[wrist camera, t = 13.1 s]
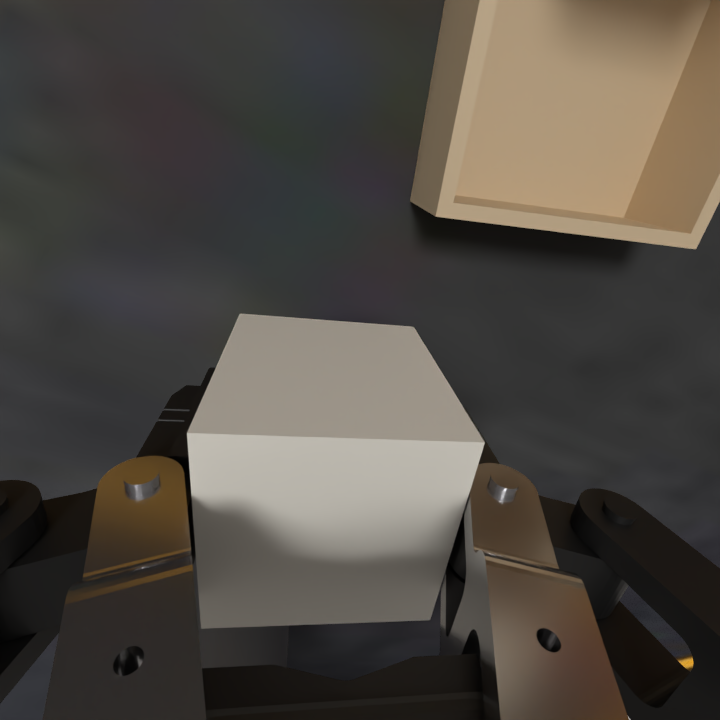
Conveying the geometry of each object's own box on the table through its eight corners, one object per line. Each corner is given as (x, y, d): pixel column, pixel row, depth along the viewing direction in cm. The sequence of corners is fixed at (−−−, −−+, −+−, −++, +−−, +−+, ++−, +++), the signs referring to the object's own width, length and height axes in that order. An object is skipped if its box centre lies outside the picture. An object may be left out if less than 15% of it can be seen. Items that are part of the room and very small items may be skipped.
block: (388, 460, 13) (430, 619, 8) (240, 456, 12) (201, 628, 8) (413, 327, 11) (484, 442, 7) (239, 313, 10) (186, 432, 6)
